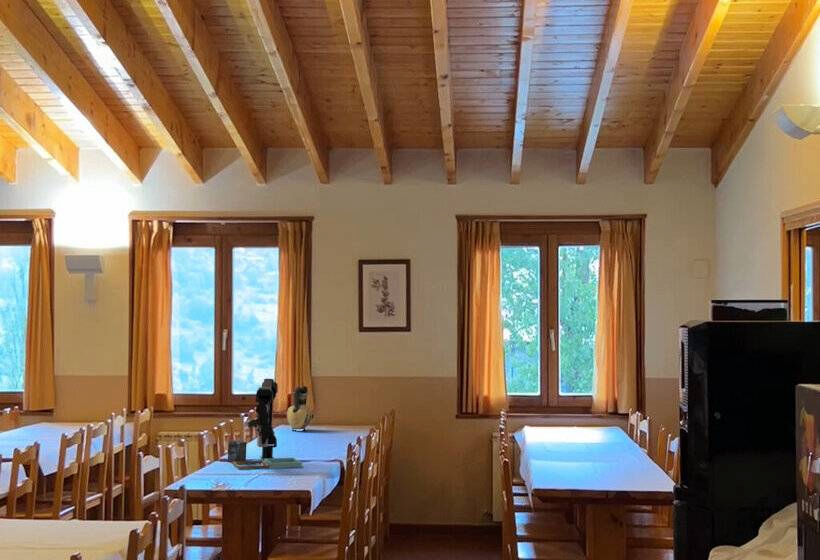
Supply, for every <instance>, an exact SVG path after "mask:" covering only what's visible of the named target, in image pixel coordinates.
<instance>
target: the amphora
mask: <svg viewBox="0 0 820 560" xmlns="http://www.w3.org/2000/svg"><path fill="white" fill-rule="evenodd" d="M308 391H309V390H308V387H307V386H306V385H303V386H301V387H300V386H296V388H295V389H294V391H293V392H291V393H292V394H293V395H294V405H291V406H290V407H288V408H287V411H286V419H287V422H288V424H289V425H290V427H291V430H292V429H305V430H306V428H307V427H308V426H309V424H310V423H311V421H312V418H313V410H312V409H311V408H310V407H309V406H308V405H307V399H308V395H309V394H310V392H308Z"/></svg>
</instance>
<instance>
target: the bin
mask: <svg viewBox="0 0 820 560" xmlns="http://www.w3.org/2000/svg"><path fill="white" fill-rule="evenodd" d="M263 461H264V462H265V463H267V464H268V465H270V467H271V468H270V467H269V468H270V469H291V468H290V467H298V468H302V463H303V462H301V461H300V460H298V459H296V458H295V457H274V458H266V459H263ZM288 467H289V468H288Z"/></svg>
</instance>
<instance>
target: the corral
mask: <svg viewBox="0 0 820 560" xmlns="http://www.w3.org/2000/svg"><path fill="white" fill-rule="evenodd" d="M231 463H232V464H233V465H232V466H234V468H236V469H237V470H253V469H252V468H268V469H270V465H268V464H267V463H265V462H264V460H246V461H232V462H231ZM251 463H262V464H263V465H262V464H258V465H252V464H251Z"/></svg>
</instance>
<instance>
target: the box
mask: <svg viewBox="0 0 820 560" xmlns="http://www.w3.org/2000/svg"><path fill="white" fill-rule="evenodd" d="M227 444H228V445H227V446H228V447H227V448H228V449H227V462H229V463H232V461H247V441H241V440H229V441H228V443H227Z"/></svg>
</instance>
